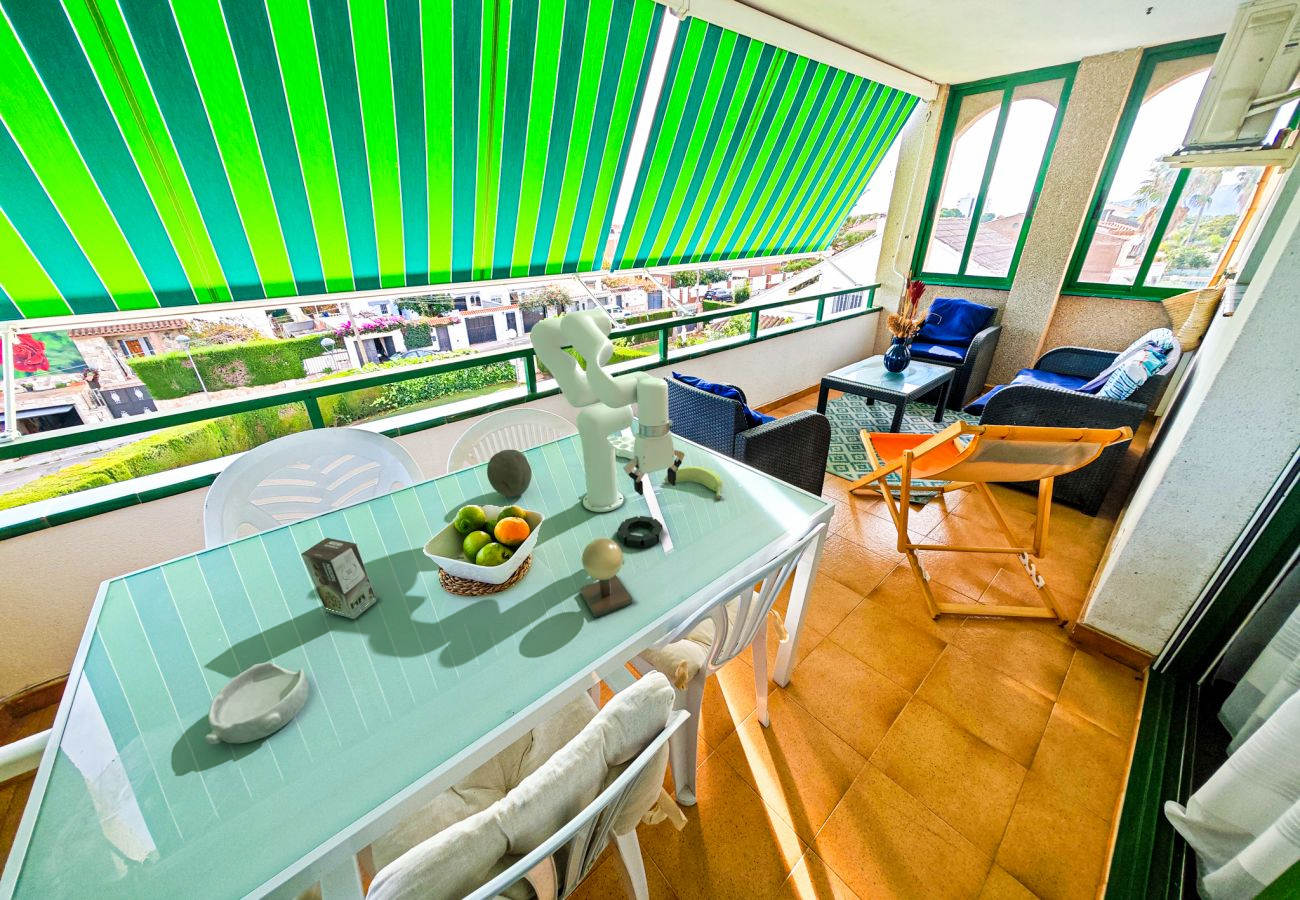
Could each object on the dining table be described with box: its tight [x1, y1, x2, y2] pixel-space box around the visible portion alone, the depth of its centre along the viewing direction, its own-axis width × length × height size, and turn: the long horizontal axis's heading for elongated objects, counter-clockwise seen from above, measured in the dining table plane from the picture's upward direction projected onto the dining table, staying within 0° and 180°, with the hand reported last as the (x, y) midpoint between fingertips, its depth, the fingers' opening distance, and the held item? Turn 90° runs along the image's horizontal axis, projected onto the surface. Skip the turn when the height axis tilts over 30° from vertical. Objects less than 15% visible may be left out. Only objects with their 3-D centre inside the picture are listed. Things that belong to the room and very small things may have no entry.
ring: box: [617, 515, 664, 549], centre depth 126 cm, size 12×12×2 cm
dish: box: [205, 661, 310, 745], centre depth 80 cm, size 14×14×5 cm
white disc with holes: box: [607, 434, 635, 460], centre depth 179 cm, size 3×18×15 cm
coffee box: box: [300, 537, 377, 620], centre depth 102 cm, size 9×6×16 cm
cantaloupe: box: [486, 449, 533, 498], centre depth 147 cm, size 14×14×15 cm
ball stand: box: [579, 537, 633, 619], centre depth 102 cm, size 9×9×16 cm
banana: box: [664, 465, 723, 500], centre depth 149 cm, size 14×6×20 cm
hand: (655, 488), depth 121 cm, fingers open, 9 cm apart
